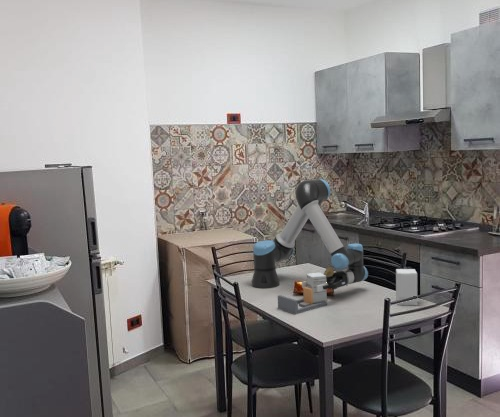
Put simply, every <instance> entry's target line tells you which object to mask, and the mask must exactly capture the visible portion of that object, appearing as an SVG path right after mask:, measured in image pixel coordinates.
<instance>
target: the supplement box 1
mask: <svg viewBox="0 0 500 417" xmlns="http://www.w3.org/2000/svg"><path fill="white" fill-rule="evenodd" d="M306 281H307V288H310V289H313V304H317V303H320V302H323V301H325V302H327V301H328V298H327V297H328V296H327V290H328V289H326V290H323V291H319V292H317V286H318V285H322V284H325V283H326V276H325V275H324V273H323V272H312V273H310V272H309V273H306Z"/></svg>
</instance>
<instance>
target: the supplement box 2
mask: <svg viewBox="0 0 500 417" xmlns="http://www.w3.org/2000/svg"><path fill="white" fill-rule="evenodd" d="M413 296H417V297H418V272H417V271H416V269H415V268H396V269H395V299H396V300H401V299H405V298H408V297H413ZM397 305H399V306H418V298H417V299H414V300H411V301H407V302H403V303H399V304H397Z"/></svg>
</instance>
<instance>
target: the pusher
mask: <svg viewBox="0 0 500 417" xmlns="http://www.w3.org/2000/svg"><path fill="white" fill-rule="evenodd" d="M302 291H303V298H304V302H302V303H299V304H298V307H300V308H303V307H306V306H310V305H313V304H314V303H313V289H310V288H307V287H304V288H302Z"/></svg>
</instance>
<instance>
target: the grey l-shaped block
mask: <svg viewBox="0 0 500 417" xmlns="http://www.w3.org/2000/svg"><path fill="white" fill-rule="evenodd" d="M302 302H304V297H303V298H299V299H296V298H295V299H294V298H291V297H289V296H284V295H281V294H279V295H277V308H278V310H282V311H285V312H288V313H290V314H294V315H299V314H301V313H304V312H308V311H311V310H314V309H317V308H318V309H319V308H322V307H325V306H327V304H328V303H327V302H325V301H323V302H320V303H313V305H310V306H306V307H299V303H302Z"/></svg>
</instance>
